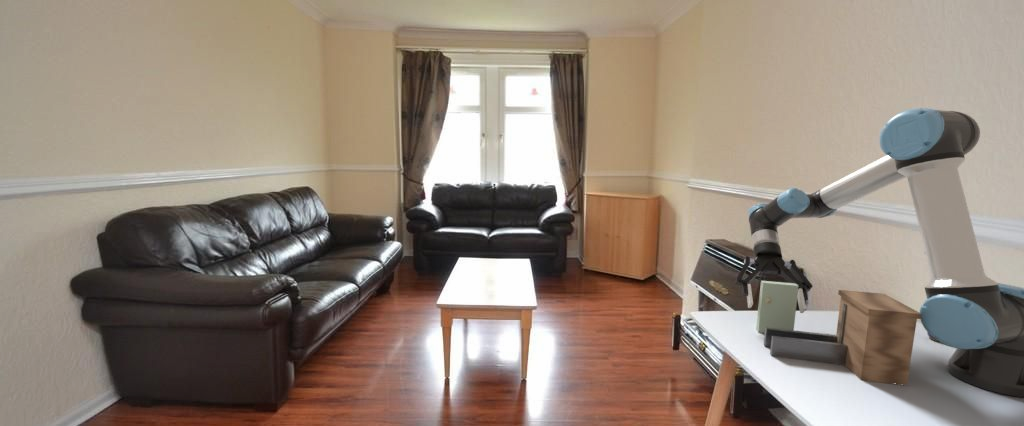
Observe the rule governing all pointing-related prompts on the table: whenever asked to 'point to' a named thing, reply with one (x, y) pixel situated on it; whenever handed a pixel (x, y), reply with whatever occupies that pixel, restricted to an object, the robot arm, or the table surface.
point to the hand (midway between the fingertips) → (776, 308)
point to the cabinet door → (777, 305)
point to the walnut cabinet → (876, 335)
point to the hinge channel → (805, 346)
